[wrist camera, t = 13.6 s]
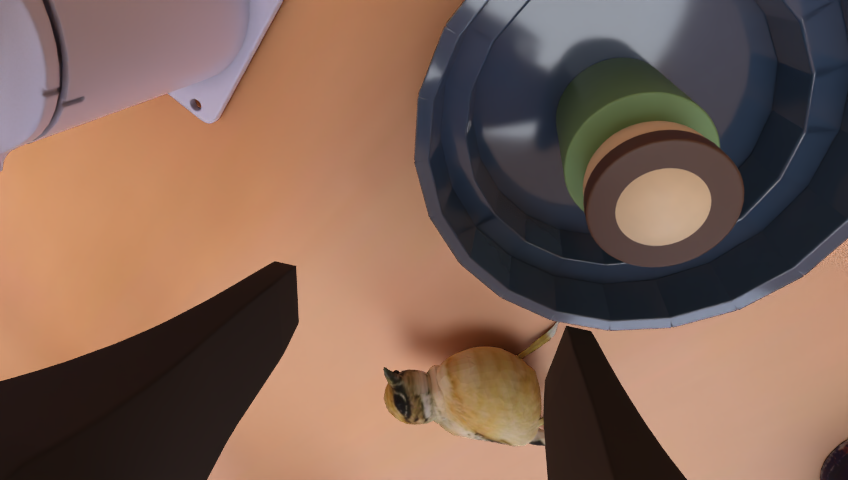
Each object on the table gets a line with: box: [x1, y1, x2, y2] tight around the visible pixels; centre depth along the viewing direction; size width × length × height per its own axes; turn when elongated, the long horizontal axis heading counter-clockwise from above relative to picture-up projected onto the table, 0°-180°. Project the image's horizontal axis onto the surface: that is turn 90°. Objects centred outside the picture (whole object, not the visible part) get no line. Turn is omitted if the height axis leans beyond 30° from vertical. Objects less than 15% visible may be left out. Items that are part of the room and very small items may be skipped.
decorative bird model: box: [384, 322, 559, 446], centre depth 24 cm, size 4×13×10 cm
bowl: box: [414, 0, 848, 331], centre depth 15 cm, size 13×13×5 cm
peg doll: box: [556, 58, 744, 267], centre depth 13 cm, size 4×4×8 cm
